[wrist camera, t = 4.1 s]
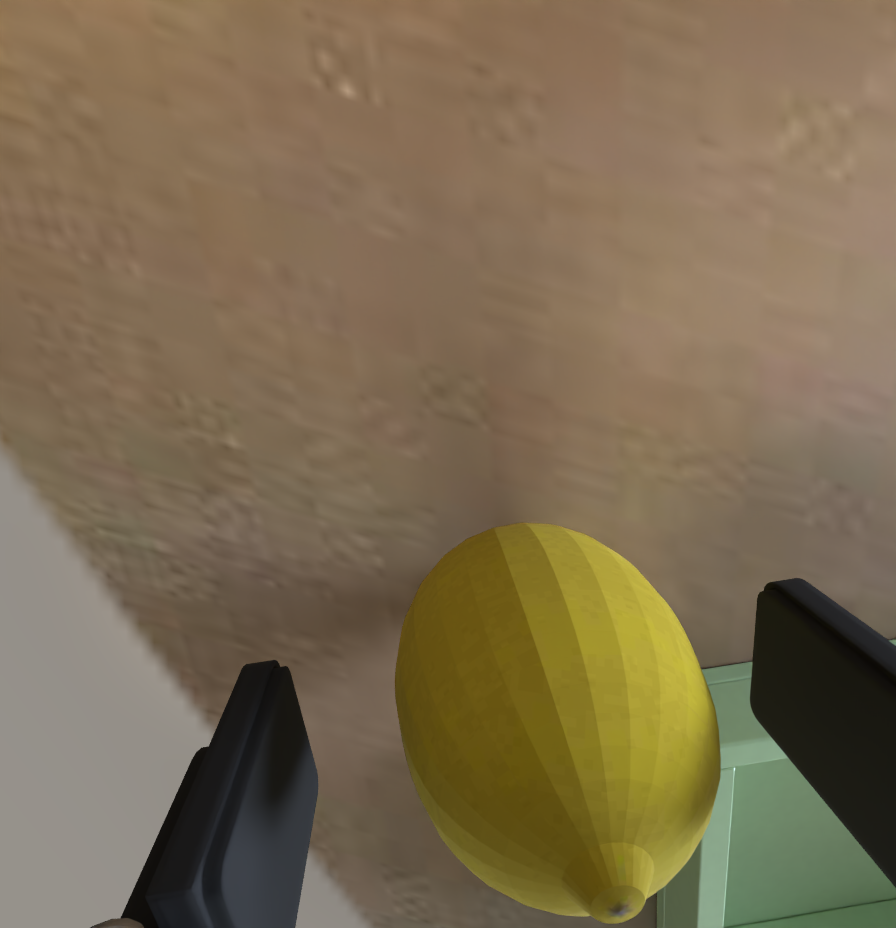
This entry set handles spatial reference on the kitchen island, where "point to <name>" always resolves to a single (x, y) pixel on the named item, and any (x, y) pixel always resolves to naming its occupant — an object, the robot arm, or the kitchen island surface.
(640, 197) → the kitchen island surface
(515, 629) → the lemon
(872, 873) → the green tray
